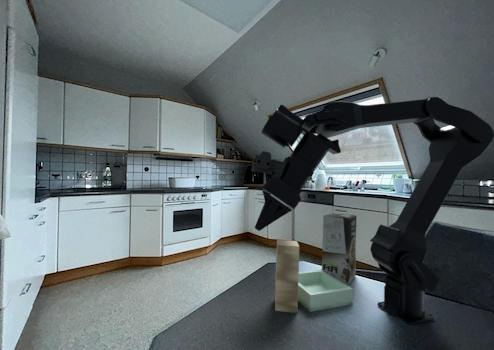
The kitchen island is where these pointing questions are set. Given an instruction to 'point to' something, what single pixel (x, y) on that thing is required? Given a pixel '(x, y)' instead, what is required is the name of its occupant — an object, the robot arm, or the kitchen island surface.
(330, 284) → the tray
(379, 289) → the kitchen island surface
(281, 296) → the oak block
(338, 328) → the kitchen island surface
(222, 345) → the kitchen island surface
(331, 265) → the coffee box
